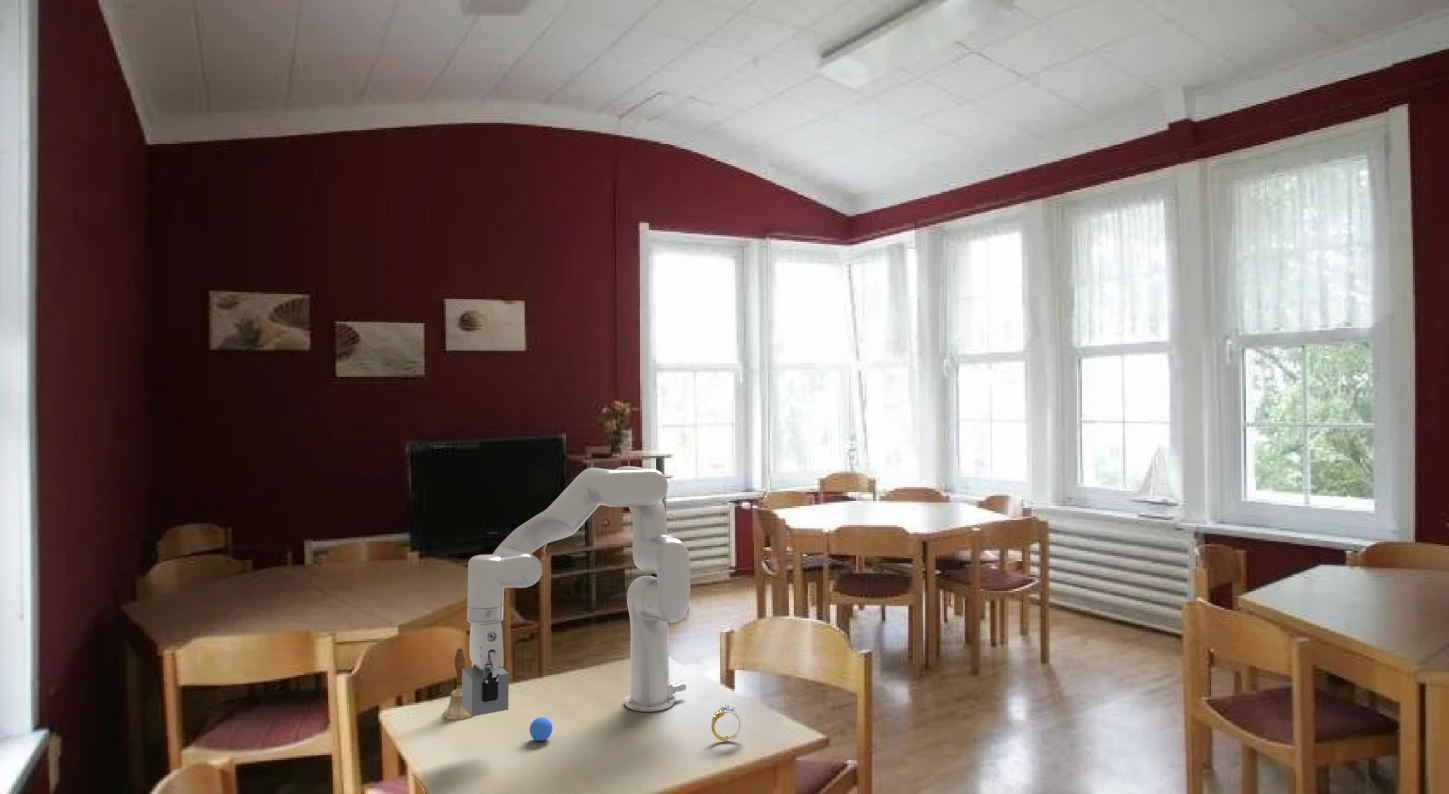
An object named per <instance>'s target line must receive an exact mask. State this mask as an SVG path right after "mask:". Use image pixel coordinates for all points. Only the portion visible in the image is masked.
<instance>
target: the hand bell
mask: <svg viewBox="0 0 1449 794" xmlns="http://www.w3.org/2000/svg"><path fill="white" fill-rule="evenodd" d="M466 660H467V659H466V655H465V652H464V648H463V647H458V648H456V652H455V655H454V668H455V672H456V686H457V687H456V689H454V690H452V691H451V693H450V700H449V704H448V706H447V708H446V709H445V710H444V711H443V713H442V716H443V718H444V719H447V720H450V721H452V720H453V721H462V720H468V719H471V718H474V716H471V715H470V714H469V713H468V711H467V710H466V709H465V708H464V707H463V705H462V669H465V668H466V664H467V661H466Z"/></svg>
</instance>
